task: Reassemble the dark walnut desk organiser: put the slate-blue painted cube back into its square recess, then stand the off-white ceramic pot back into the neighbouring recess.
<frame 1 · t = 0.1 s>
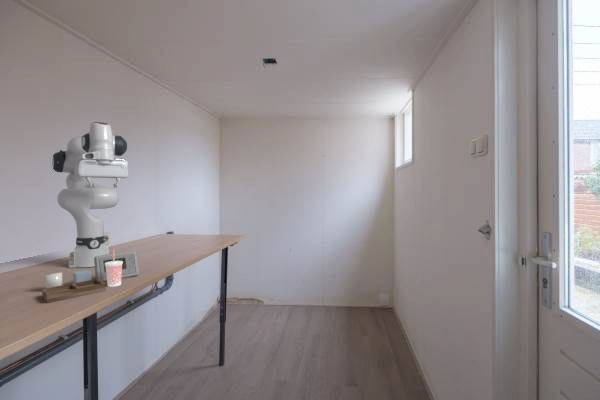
hand: (104, 187, 139), 39 cm above the table, tool pointing down, fingers open, 8 cm apart
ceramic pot: (54, 289, 116), on the table
organiser base: (74, 293, 111), on the table
blue cube: (82, 284, 123), on the table
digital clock: (117, 279, 130), on the table
beverage cup: (114, 285, 121), on the table
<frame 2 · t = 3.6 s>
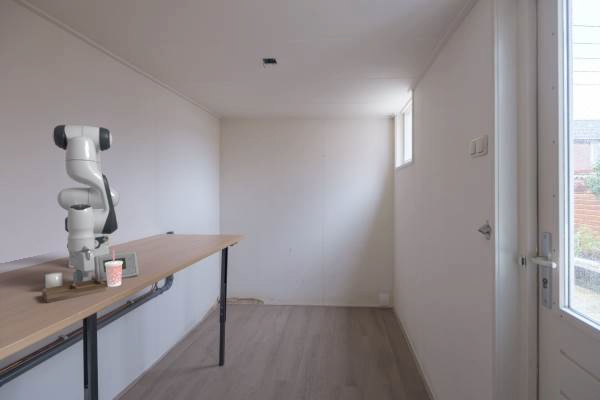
hand: (82, 279, 123), 2 cm above the table, tool pointing down, fingers closed on blue cube, 5 cm apart
blue cube: (82, 284, 123), on the table, touching gripper
everything else where it was.
when the fingers open (4 cm above the table, at t = 8.8 s): blue cube drops 1 cm, resting on organiser base.
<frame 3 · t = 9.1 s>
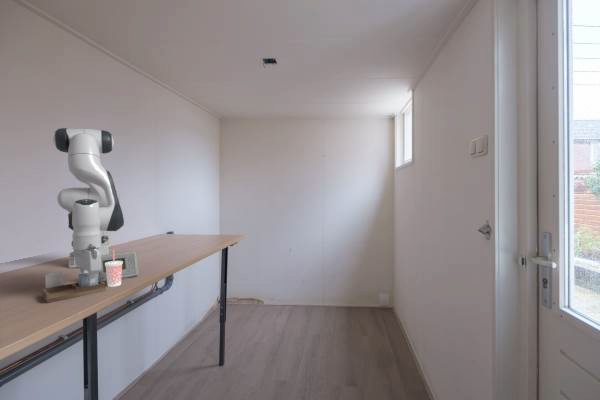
hand: (88, 280, 114), 4 cm above the table, tool pointing down, fingers open, 8 cm apart
blue cube: (88, 287, 114), point 1 cm above the table, touching organiser base
everything else where it was.
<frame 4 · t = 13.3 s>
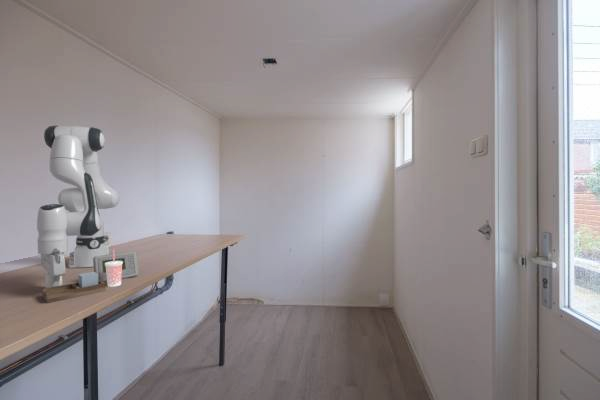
hand: (54, 283, 116), 2 cm above the table, tool pointing down, fingers closed on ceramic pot, 5 cm apart
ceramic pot: (54, 289, 116), on the table, touching gripper
everything else where it was.
when the fingers open (4 cm above the table, at t = 18.4 s): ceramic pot stays where it is, resting on organiser base.
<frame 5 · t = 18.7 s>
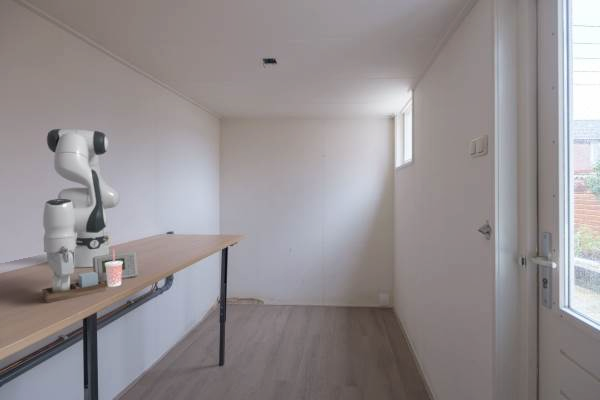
hand: (61, 284, 108), 4 cm above the table, tool pointing down, fingers open, 8 cm apart
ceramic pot: (61, 292, 108), point 1 cm above the table, touching organiser base
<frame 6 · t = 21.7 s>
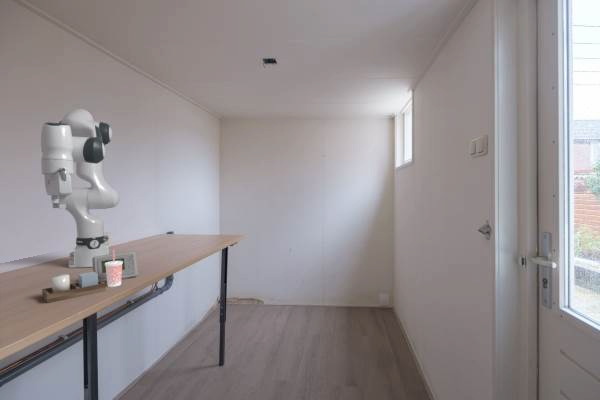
hand: (59, 208, 107), 31 cm above the table, tool pointing down, fingers open, 8 cm apart
at the end: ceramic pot 0.0 cm from the target spot on the organiser base, point 1.3 cm above the organiser base's base; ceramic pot tilted 1°; blue cube 0.1 cm from the target spot on the organiser base, point 1.2 cm above the organiser base's base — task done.
